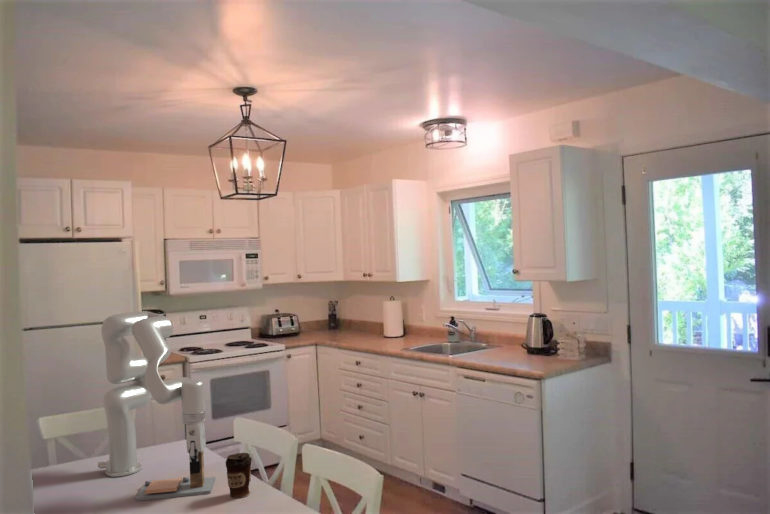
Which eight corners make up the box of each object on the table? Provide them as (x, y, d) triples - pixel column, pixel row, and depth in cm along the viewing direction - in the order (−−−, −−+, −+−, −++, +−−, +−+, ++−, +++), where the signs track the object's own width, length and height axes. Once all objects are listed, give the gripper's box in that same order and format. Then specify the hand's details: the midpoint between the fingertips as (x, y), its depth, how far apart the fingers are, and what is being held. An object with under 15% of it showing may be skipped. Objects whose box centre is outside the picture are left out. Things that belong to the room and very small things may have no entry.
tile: (145, 494, 203) (144, 490, 203) (152, 484, 213) (152, 481, 213) (176, 491, 204) (176, 487, 204) (182, 481, 214) (182, 478, 214)
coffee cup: (246, 500, 197) (244, 460, 197) (222, 500, 199) (220, 459, 199) (257, 490, 206) (255, 451, 206) (234, 489, 208) (232, 451, 207)
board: (135, 501, 202) (134, 493, 202) (144, 486, 215) (144, 479, 214) (210, 493, 205) (210, 486, 205) (215, 479, 218) (215, 472, 218)
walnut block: (190, 487, 208) (189, 452, 208) (192, 483, 212) (191, 448, 212) (202, 486, 209) (201, 451, 208) (204, 482, 213) (203, 447, 212)
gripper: (201, 422, 202) (204, 477, 202) (209, 409, 219) (211, 460, 219) (177, 424, 201) (180, 479, 201) (187, 411, 218) (189, 462, 218)
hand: (196, 469), depth 210 cm, fingers open, 6 cm apart
